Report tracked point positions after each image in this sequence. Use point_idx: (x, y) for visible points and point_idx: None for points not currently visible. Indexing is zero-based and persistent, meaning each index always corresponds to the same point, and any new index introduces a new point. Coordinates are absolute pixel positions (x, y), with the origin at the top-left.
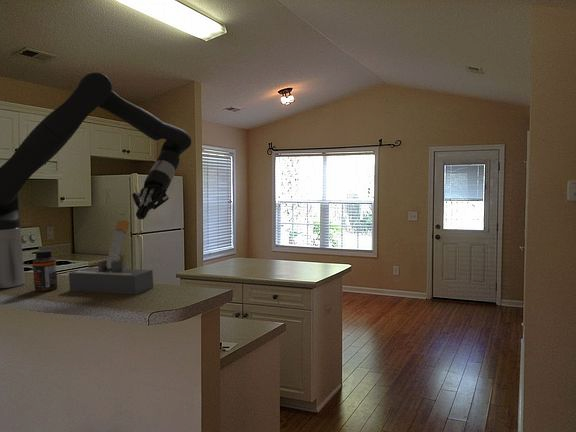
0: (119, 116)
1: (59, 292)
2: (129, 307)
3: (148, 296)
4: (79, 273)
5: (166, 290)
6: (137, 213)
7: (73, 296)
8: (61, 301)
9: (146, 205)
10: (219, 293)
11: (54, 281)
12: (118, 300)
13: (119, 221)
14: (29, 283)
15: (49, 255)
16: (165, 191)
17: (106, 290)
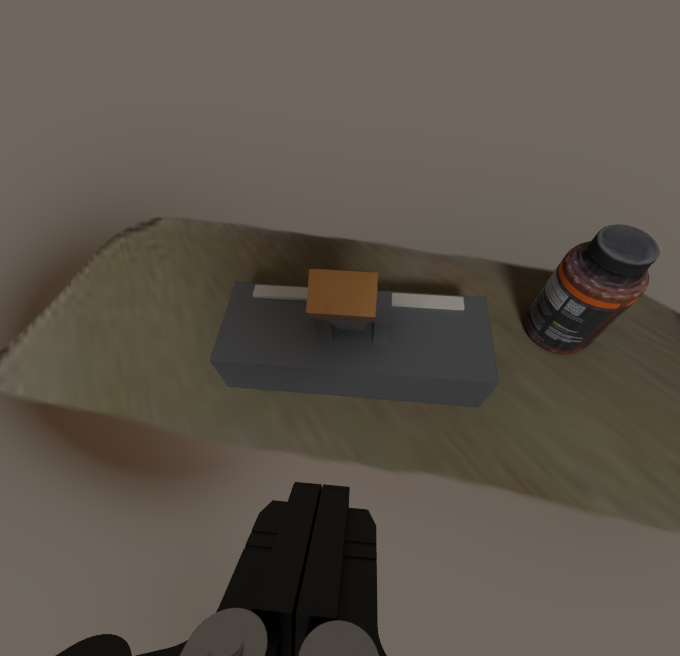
0: None
1: None
2: (218, 234)
3: (207, 303)
4: (442, 294)
5: (175, 360)
6: (339, 498)
7: (406, 283)
8: (399, 249)
9: (208, 617)
10: (17, 347)
11: (534, 315)
12: (268, 269)
13: (362, 273)
14: None
15: (590, 256)
16: None
17: None
